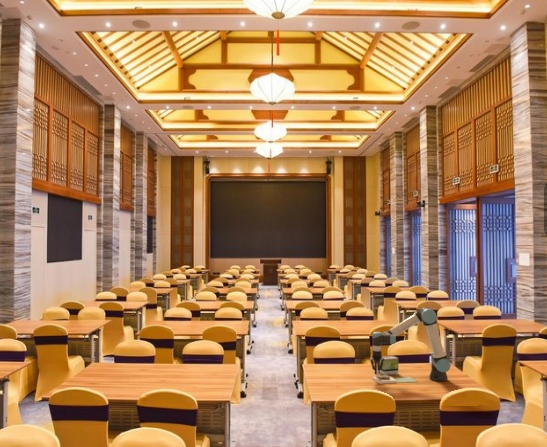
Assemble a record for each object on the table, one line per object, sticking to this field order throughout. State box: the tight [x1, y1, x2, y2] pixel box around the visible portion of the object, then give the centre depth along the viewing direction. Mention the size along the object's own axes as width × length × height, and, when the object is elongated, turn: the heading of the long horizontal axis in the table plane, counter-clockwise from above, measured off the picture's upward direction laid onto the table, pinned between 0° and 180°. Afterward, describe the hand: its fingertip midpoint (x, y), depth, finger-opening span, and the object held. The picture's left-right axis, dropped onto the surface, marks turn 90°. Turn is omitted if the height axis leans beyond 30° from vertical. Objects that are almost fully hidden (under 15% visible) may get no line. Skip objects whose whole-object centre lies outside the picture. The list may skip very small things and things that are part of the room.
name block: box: [378, 374, 390, 380], centre depth 416 cm, size 9×6×2 cm, turn 99°
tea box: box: [379, 355, 399, 376], centre depth 440 cm, size 15×10×15 cm, turn 112°
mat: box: [393, 376, 418, 384], centre depth 419 cm, size 18×14×1 cm
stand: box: [372, 375, 397, 385], centre depth 416 cm, size 16×14×2 cm
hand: (377, 377), depth 415 cm, fingers closed
